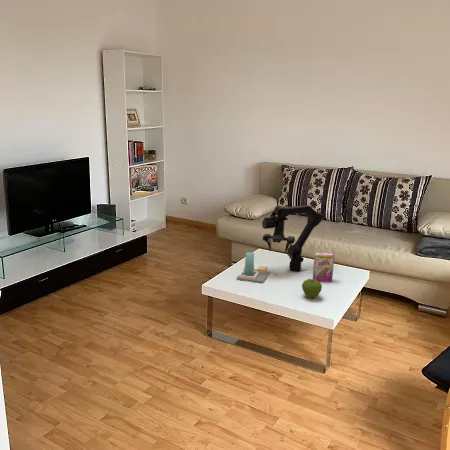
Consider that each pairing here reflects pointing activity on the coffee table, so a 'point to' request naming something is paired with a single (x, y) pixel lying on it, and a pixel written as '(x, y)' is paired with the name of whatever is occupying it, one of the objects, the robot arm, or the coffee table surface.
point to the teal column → (249, 263)
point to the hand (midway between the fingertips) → (278, 252)
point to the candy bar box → (323, 267)
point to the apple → (311, 288)
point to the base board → (255, 275)
